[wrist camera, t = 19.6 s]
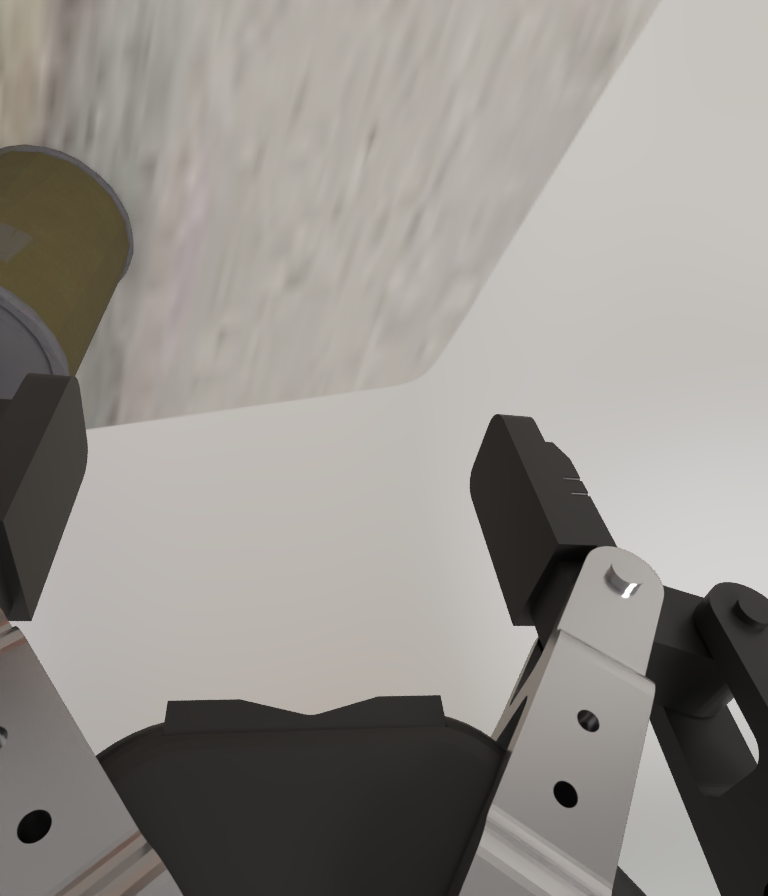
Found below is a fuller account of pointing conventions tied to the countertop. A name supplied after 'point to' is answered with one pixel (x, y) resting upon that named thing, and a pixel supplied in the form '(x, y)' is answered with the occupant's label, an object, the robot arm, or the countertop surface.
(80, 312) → the canister
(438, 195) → the countertop surface
